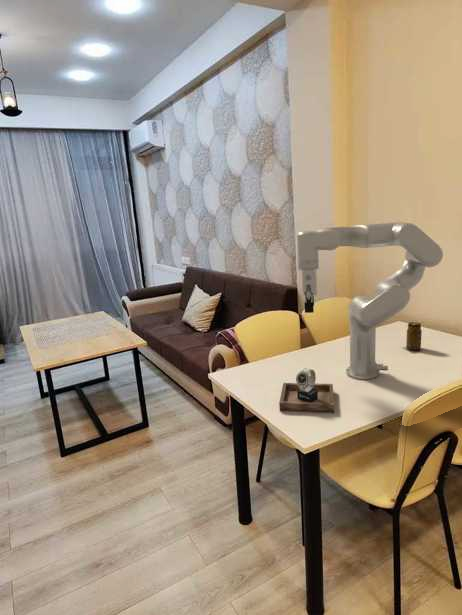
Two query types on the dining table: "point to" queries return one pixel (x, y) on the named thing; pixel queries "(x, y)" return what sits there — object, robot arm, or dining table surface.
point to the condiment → (414, 338)
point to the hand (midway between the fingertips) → (309, 309)
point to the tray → (294, 404)
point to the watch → (302, 381)
